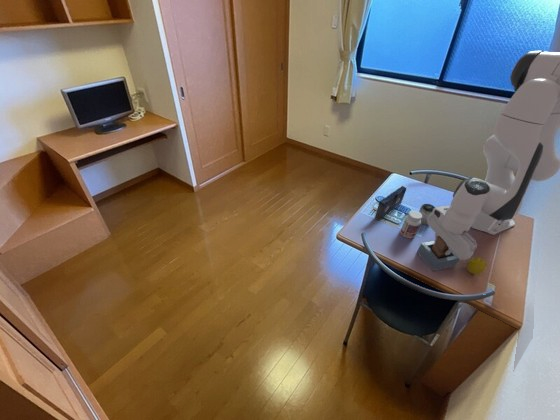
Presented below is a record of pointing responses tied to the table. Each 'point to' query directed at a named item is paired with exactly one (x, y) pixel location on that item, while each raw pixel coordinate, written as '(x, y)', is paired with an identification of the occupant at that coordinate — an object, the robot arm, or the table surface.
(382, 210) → the vhs cassette tape
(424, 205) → the camera lens
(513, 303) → the table surface
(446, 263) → the docking socket
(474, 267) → the lemon
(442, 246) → the walnut spigot peg
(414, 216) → the pill bottle
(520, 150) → the robot arm
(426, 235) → the table surface
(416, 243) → the table surface
